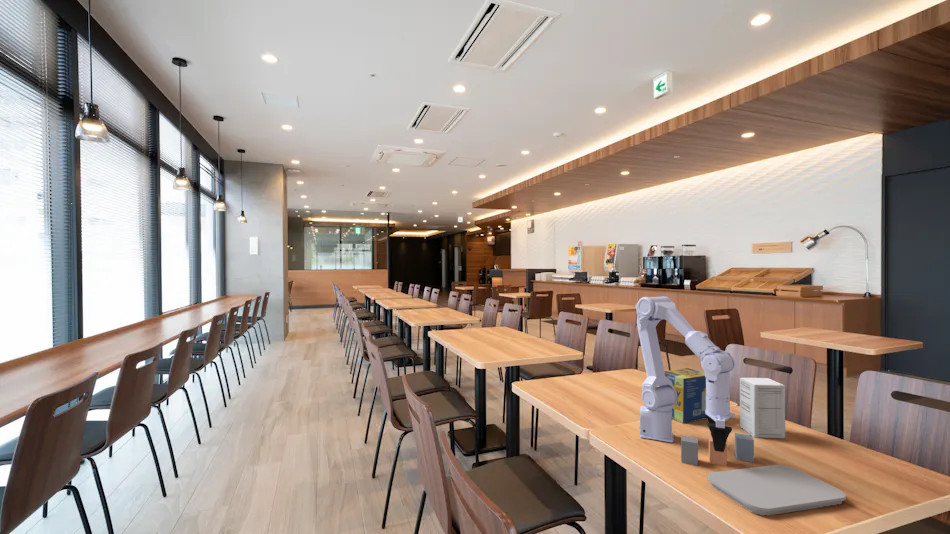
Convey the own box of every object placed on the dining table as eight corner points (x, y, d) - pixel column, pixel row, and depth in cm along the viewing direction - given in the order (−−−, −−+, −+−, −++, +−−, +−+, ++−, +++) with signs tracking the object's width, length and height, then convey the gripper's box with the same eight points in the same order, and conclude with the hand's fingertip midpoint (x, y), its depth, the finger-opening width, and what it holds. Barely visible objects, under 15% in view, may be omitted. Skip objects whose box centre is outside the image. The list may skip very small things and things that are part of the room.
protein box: (658, 414, 154) (658, 371, 154) (687, 408, 161) (687, 367, 161) (683, 423, 145) (683, 378, 145) (713, 417, 151) (713, 374, 151)
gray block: (681, 462, 115) (681, 440, 115) (681, 456, 119) (681, 435, 119) (697, 465, 114) (698, 443, 114) (697, 459, 117) (697, 438, 117)
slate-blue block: (736, 459, 118) (736, 437, 118) (734, 453, 121) (734, 432, 121) (753, 462, 116) (753, 440, 116) (751, 456, 120) (751, 435, 120)
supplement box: (769, 428, 141) (769, 377, 141) (786, 439, 132) (786, 385, 132) (738, 426, 142) (738, 376, 142) (754, 437, 133) (754, 384, 133)
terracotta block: (709, 463, 115) (709, 441, 115) (708, 457, 119) (708, 436, 119) (726, 466, 113) (726, 443, 113) (725, 460, 117) (725, 438, 117)
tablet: (701, 483, 105) (701, 473, 105) (785, 472, 111) (785, 463, 111) (758, 520, 89) (758, 510, 89) (853, 506, 95) (853, 496, 95)
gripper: (738, 405, 108) (738, 459, 108) (731, 391, 121) (731, 438, 121) (707, 401, 111) (707, 453, 111) (703, 388, 124) (703, 434, 124)
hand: (717, 445), depth 116 cm, fingers open, 7 cm apart
